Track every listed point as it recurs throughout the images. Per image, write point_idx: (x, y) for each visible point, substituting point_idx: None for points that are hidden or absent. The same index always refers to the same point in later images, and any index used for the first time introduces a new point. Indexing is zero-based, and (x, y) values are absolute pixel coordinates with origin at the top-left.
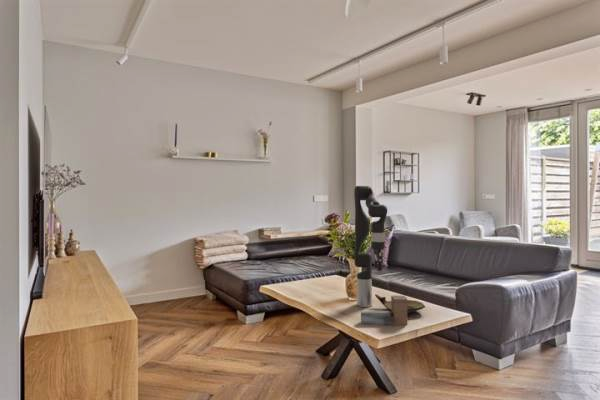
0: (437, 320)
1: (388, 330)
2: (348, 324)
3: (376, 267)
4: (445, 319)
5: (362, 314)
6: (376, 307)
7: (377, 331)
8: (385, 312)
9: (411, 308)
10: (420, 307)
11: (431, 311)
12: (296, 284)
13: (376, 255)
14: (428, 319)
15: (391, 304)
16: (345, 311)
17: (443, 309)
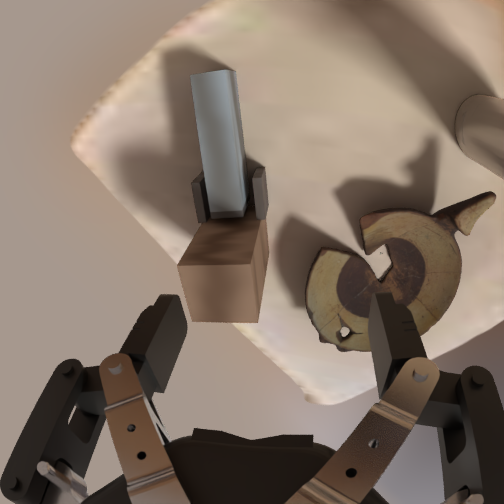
0: (277, 346)
1: (148, 179)
2: (197, 20)
3: (372, 307)
4: (287, 364)
5: (192, 78)
6: (452, 175)
7: (131, 139)
8: (216, 192)
9: None
10: (322, 337)
11: None
12: None
13: (130, 480)
14: (286, 327)
15: (252, 239)
16: (395, 17)
17: None
